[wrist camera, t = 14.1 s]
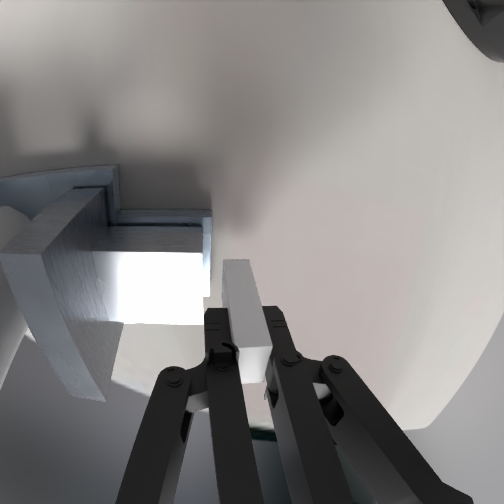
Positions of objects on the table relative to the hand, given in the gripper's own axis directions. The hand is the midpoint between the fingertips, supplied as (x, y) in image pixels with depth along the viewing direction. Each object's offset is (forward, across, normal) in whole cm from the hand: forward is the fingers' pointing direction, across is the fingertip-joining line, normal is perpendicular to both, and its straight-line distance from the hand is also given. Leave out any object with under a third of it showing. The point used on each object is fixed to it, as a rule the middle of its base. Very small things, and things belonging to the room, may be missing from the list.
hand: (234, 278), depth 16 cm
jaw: (+2, -6, 0) cm, 7 cm away
